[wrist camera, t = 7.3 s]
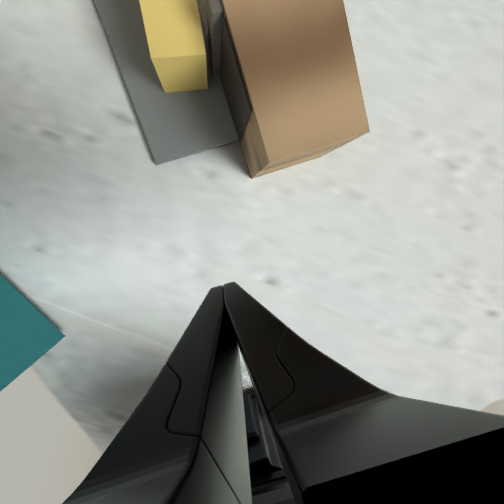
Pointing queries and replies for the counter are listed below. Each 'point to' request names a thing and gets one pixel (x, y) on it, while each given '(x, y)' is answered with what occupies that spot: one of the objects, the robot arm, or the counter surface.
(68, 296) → the counter surface
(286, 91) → the brown box
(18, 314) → the teal l-shaped bracket
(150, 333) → the counter surface
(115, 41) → the mat
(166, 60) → the yellow block
